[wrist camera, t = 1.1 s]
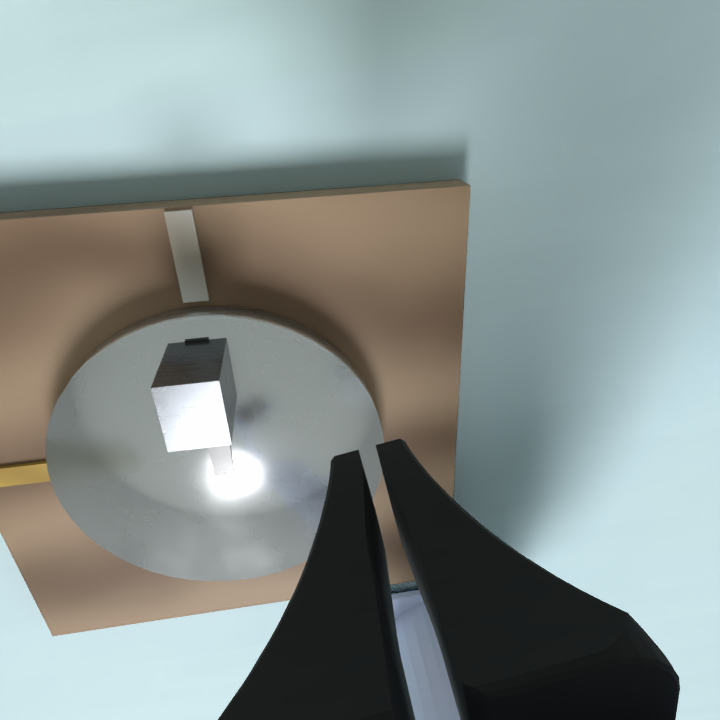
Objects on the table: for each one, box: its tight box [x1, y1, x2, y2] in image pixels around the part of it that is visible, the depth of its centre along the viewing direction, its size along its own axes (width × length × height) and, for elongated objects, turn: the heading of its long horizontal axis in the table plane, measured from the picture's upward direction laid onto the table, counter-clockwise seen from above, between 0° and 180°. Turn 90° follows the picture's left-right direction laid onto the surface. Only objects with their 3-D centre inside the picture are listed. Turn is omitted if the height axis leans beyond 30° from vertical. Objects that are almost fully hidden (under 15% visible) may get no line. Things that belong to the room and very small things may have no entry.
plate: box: [0, 180, 470, 636], centre depth 23 cm, size 20×20×1 cm
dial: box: [45, 305, 384, 581], centre depth 21 cm, size 13×13×4 cm
